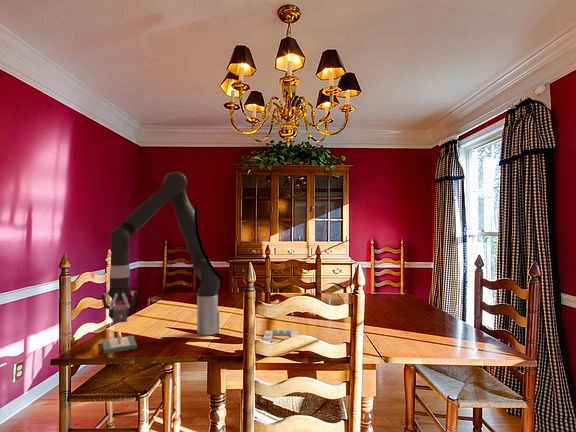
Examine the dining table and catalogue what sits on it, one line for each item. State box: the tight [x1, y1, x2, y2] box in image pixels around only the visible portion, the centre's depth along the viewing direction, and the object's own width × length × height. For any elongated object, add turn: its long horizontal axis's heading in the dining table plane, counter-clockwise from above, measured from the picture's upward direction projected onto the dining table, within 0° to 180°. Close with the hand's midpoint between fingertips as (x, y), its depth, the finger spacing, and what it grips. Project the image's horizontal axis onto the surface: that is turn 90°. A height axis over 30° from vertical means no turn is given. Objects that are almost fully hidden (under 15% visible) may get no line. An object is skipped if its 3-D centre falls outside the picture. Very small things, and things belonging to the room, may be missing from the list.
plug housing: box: [111, 303, 128, 324], centre depth 151 cm, size 5×14×5 cm, turn 29°
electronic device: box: [262, 329, 299, 342], centre depth 162 cm, size 18×2×15 cm
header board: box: [101, 335, 138, 355], centre depth 153 cm, size 12×14×2 cm
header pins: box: [116, 331, 122, 344], centre depth 153 cm, size 1×6×4 cm, turn 28°
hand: (119, 317), depth 153 cm, fingers closed on plug housing, 5 cm apart
